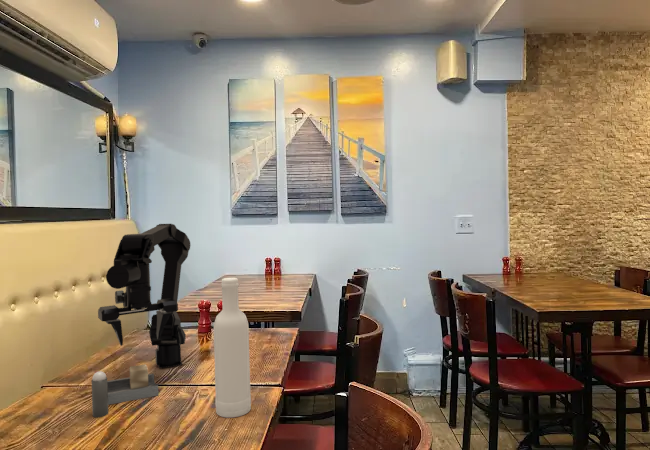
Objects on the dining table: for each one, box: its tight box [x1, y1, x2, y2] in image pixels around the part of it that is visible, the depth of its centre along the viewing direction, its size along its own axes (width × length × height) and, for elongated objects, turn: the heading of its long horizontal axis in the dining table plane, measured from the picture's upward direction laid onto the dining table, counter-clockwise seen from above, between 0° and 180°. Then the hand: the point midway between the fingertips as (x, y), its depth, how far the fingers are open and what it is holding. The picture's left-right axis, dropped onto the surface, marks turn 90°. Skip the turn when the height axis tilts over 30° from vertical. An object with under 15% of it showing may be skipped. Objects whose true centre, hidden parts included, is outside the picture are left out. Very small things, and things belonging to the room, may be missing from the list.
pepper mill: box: [91, 370, 109, 418], centre depth 105 cm, size 3×3×10 cm
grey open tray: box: [94, 370, 159, 406], centre depth 117 cm, size 14×10×6 cm
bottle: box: [213, 277, 252, 418], centre depth 105 cm, size 8×8×30 cm
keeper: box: [128, 364, 149, 389], centre depth 118 cm, size 4×4×5 cm
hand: (140, 342), depth 122 cm, fingers open, 9 cm apart
